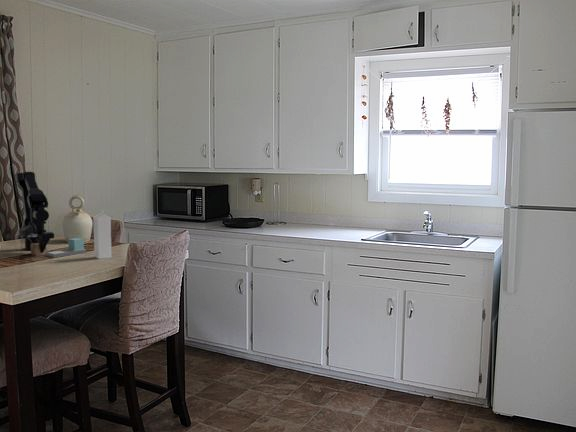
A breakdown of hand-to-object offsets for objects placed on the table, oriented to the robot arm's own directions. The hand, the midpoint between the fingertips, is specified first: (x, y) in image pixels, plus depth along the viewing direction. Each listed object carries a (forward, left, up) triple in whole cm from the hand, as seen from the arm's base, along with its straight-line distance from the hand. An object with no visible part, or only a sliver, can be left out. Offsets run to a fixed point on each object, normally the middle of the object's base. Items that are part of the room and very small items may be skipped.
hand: (38, 252), depth 272 cm
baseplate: (+10, +8, -1) cm, 13 cm away
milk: (+30, +15, -1) cm, 33 cm away
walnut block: (0, 0, -1) cm, 1 cm away
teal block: (+10, +14, +1) cm, 17 cm away
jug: (-20, +34, -1) cm, 39 cm away
